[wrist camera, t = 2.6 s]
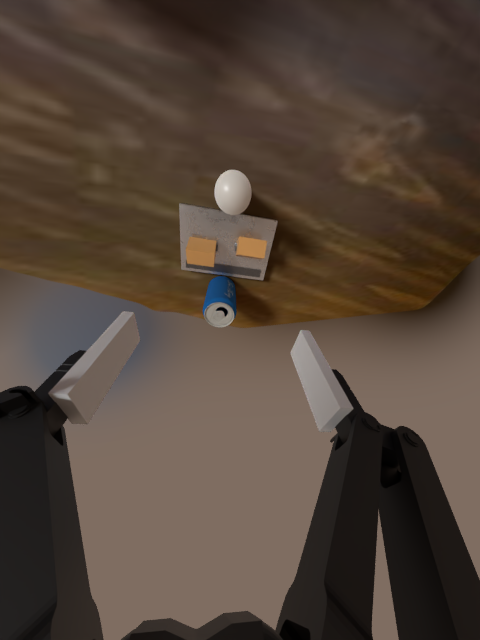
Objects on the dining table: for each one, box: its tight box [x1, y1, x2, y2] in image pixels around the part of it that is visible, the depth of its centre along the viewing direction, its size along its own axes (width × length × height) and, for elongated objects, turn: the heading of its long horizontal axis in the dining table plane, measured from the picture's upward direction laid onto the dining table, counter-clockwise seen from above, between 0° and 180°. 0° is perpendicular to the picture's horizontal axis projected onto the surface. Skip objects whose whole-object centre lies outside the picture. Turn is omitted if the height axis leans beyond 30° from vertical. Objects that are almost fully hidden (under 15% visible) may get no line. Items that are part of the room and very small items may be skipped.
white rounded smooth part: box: [215, 170, 251, 215], centre depth 26 cm, size 5×5×16 cm
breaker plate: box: [179, 203, 278, 280], centre depth 37 cm, size 12×18×2 cm, turn 81°
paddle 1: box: [186, 237, 218, 267], centre depth 34 cm, size 3×6×5 cm, turn 80°
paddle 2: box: [235, 236, 267, 259], centre depth 34 cm, size 3×6×5 cm, turn 81°
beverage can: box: [203, 276, 236, 327], centre depth 38 cm, size 6×6×12 cm
